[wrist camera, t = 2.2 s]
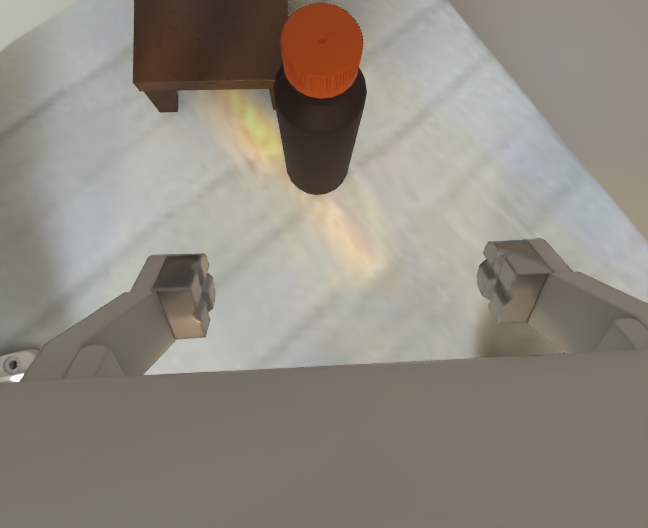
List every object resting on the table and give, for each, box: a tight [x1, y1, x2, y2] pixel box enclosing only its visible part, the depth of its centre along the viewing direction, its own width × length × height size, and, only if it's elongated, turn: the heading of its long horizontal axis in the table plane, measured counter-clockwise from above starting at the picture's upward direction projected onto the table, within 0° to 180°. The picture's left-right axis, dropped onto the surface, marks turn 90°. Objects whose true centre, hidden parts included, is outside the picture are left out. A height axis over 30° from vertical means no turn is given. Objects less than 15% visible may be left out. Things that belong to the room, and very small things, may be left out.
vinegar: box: [273, 3, 367, 195], centre depth 32 cm, size 7×7×20 cm
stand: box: [133, 0, 288, 112], centre depth 40 cm, size 15×15×6 cm
